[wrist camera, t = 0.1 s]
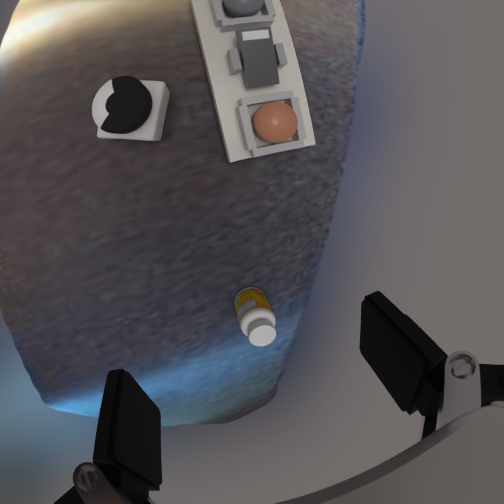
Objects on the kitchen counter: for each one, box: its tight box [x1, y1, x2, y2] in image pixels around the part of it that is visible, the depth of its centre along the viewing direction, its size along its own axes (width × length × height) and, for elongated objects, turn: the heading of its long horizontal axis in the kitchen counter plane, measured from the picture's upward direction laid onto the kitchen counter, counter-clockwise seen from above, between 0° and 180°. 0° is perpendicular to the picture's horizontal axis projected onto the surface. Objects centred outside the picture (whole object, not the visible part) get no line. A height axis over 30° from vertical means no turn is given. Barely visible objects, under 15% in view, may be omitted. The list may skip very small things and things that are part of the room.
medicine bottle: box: [92, 76, 170, 141], centre depth 25 cm, size 7×7×12 cm
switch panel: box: [190, 0, 316, 163], centre depth 28 cm, size 26×12×6 cm, turn 12°
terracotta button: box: [252, 102, 298, 142], centre depth 30 cm, size 5×5×2 cm
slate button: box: [222, 0, 265, 18], centre depth 22 cm, size 5×5×2 cm
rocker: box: [235, 27, 280, 88], centre depth 26 cm, size 8×4×2 cm, turn 12°
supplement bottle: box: [234, 287, 276, 346], centre depth 41 cm, size 5×5×10 cm
